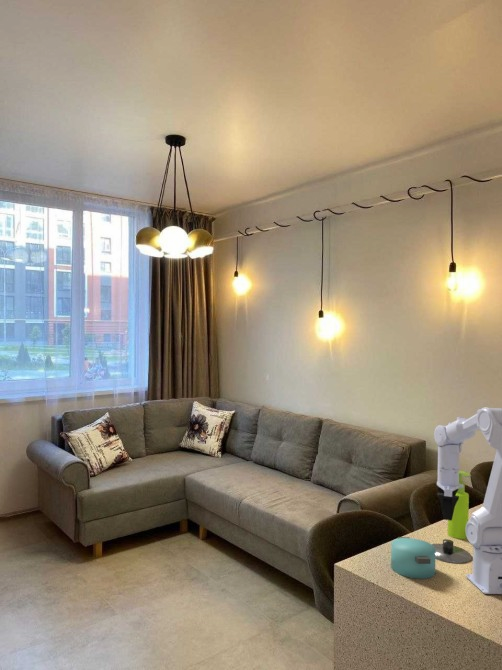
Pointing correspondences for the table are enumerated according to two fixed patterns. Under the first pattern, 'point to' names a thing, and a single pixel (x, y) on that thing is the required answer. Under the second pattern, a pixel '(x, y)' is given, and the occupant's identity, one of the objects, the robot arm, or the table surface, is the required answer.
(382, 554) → the table surface
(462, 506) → the soap dispenser
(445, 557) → the lid
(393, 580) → the table surface
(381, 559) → the table surface
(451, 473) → the robot arm
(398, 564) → the pot
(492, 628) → the table surface
